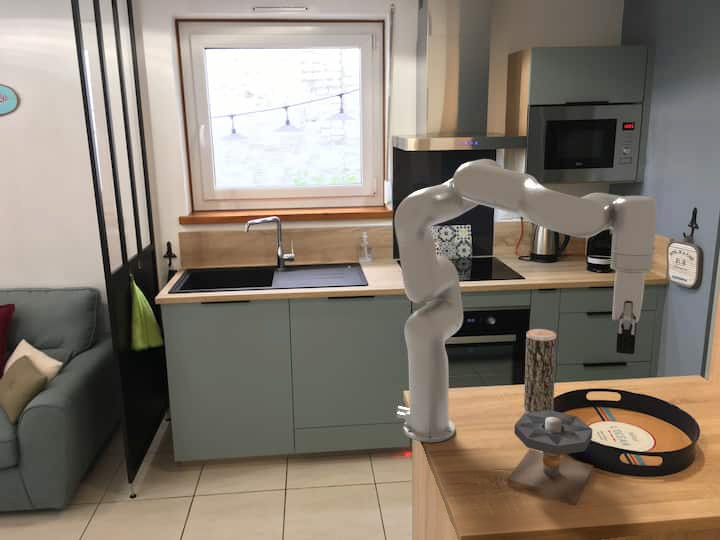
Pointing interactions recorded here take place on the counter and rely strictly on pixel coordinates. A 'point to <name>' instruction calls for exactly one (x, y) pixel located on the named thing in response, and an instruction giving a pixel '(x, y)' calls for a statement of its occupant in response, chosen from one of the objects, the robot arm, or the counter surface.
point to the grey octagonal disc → (564, 442)
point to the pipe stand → (551, 472)
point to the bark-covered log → (539, 370)
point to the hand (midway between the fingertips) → (625, 344)
